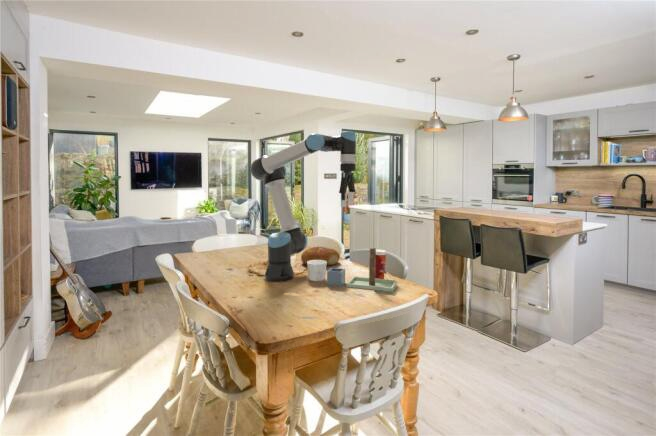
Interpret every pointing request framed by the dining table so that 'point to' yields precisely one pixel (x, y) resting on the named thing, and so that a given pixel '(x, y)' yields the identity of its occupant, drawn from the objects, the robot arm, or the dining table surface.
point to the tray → (380, 286)
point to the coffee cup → (380, 263)
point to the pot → (336, 277)
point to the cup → (316, 270)
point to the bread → (320, 255)
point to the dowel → (372, 266)
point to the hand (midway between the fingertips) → (347, 205)
